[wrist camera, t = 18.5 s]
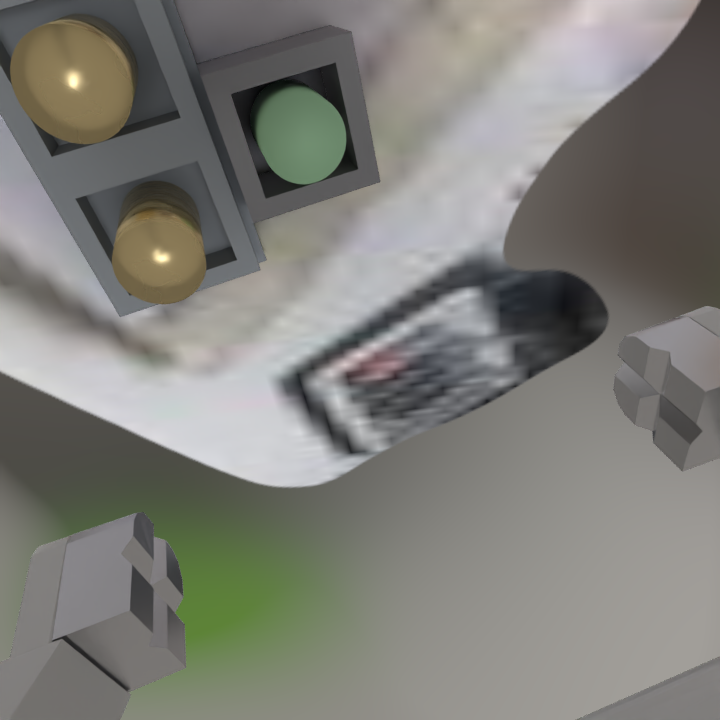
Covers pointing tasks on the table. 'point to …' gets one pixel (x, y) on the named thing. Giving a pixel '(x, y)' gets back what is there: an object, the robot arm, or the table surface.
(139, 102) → the compartment tray
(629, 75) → the table surface
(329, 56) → the button housing
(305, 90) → the button
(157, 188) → the cylinder
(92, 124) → the billet
